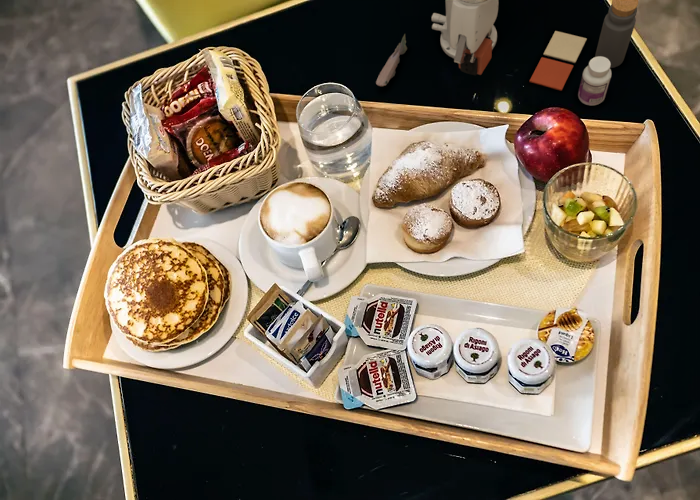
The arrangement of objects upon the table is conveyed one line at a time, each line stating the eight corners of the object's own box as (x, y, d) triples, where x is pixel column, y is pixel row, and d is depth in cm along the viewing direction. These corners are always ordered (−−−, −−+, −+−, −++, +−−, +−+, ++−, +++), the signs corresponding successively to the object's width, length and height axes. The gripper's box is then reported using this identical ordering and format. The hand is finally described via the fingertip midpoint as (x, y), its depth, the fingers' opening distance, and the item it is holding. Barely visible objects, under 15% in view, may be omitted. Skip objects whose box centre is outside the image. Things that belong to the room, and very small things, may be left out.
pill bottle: (585, 82, 127) (593, 49, 118) (609, 91, 125) (619, 58, 116) (572, 100, 126) (580, 68, 117) (597, 110, 124) (606, 78, 115)
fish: (412, 50, 139) (410, 34, 135) (386, 96, 135) (383, 80, 130) (401, 47, 140) (399, 31, 136) (375, 93, 136) (372, 77, 131)
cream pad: (543, 54, 132) (543, 53, 132) (555, 32, 134) (555, 30, 134) (575, 63, 130) (575, 61, 129) (586, 39, 132) (586, 38, 131)
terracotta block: (480, 75, 112) (481, 57, 108) (458, 68, 113) (458, 50, 109) (491, 57, 113) (492, 39, 109) (469, 50, 114) (469, 33, 110)
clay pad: (529, 82, 130) (529, 80, 129) (541, 58, 132) (541, 56, 131) (561, 91, 127) (561, 89, 127) (573, 66, 129) (573, 65, 129)
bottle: (623, 68, 127) (641, 13, 113) (594, 68, 128) (608, 13, 115) (624, 47, 129) (641, -10, 116) (595, 46, 131) (609, -10, 117)
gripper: (477, -59, 100) (476, 25, 117) (430, 12, 96) (436, 89, 112) (520, -49, 98) (513, 35, 114) (473, 25, 93) (473, 101, 109)
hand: (475, 61), depth 113 cm, fingers closed on terracotta block, 4 cm apart
